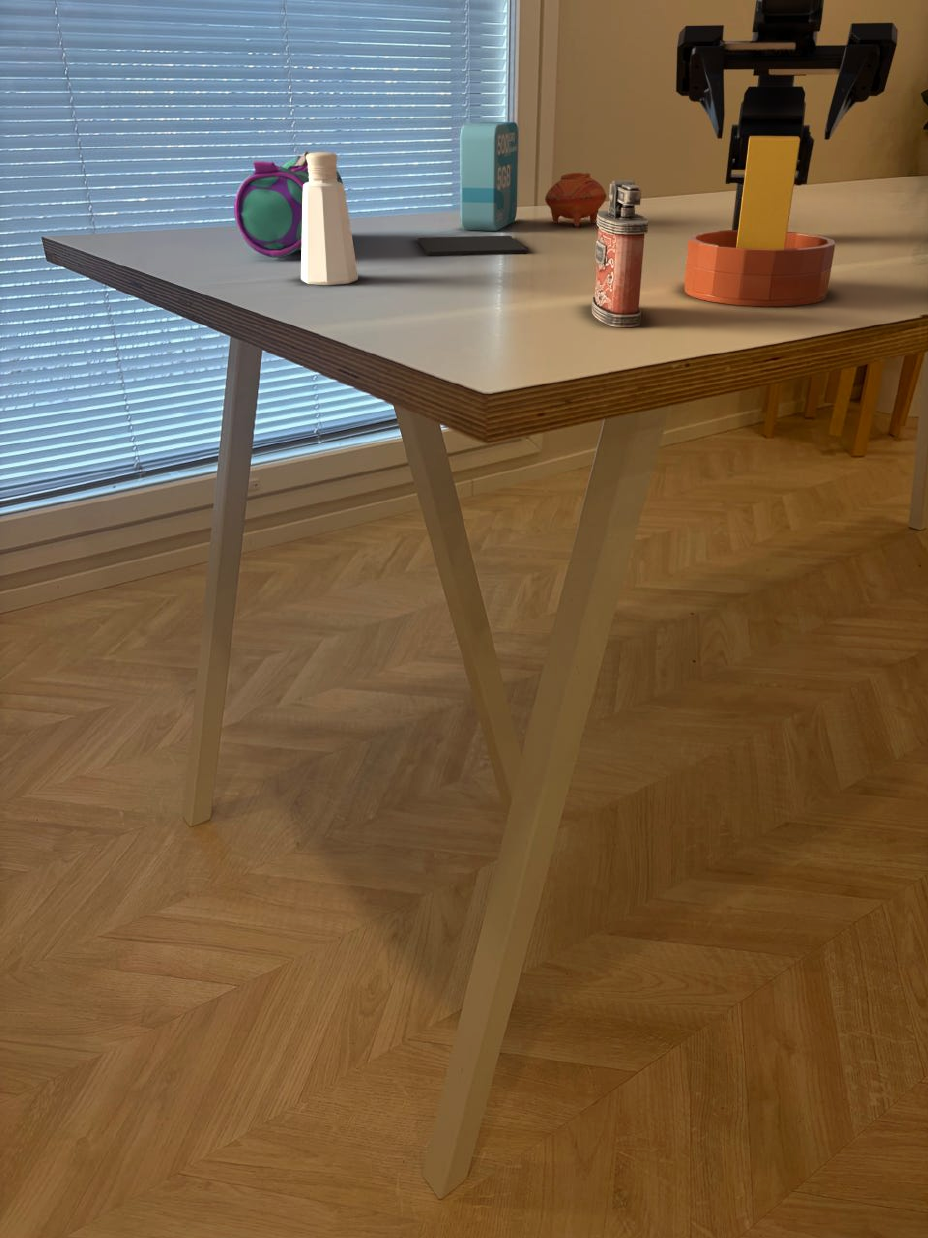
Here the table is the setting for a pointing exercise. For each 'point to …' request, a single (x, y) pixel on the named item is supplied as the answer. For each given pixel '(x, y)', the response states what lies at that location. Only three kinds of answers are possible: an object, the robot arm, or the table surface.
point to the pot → (575, 197)
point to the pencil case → (273, 206)
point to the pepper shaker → (326, 225)
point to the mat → (471, 245)
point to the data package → (488, 175)
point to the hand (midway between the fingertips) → (773, 135)
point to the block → (767, 191)
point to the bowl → (758, 270)
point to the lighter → (619, 257)
